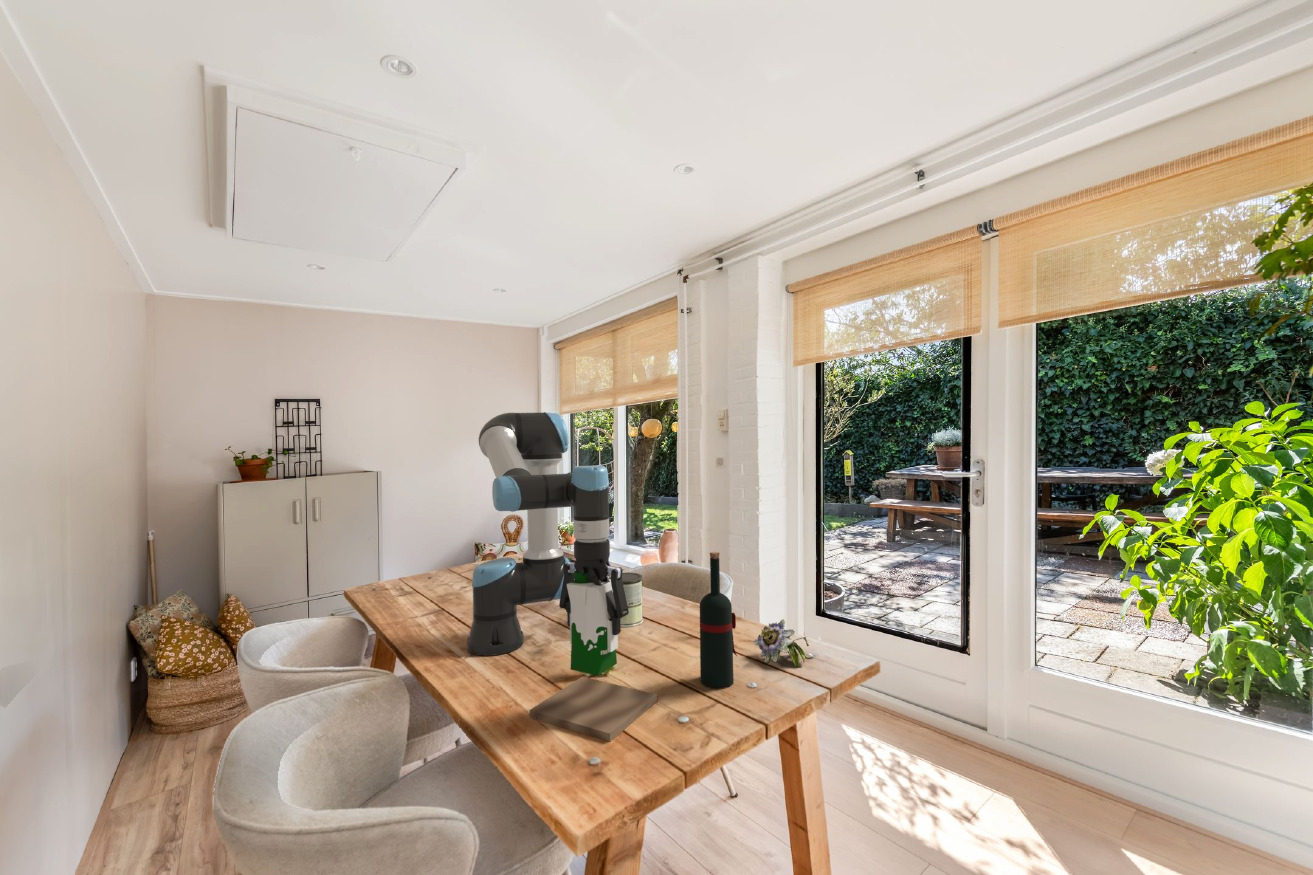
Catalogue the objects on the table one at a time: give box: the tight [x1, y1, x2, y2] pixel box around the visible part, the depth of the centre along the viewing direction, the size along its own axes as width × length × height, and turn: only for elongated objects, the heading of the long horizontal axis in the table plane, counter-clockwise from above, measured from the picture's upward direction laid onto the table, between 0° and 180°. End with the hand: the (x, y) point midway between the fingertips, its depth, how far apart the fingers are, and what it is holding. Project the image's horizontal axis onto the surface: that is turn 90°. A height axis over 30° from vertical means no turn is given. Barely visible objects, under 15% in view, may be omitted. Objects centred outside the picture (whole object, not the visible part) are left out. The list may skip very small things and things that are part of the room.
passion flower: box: [752, 618, 810, 668], centre depth 143 cm, size 11×11×12 cm
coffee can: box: [608, 572, 644, 628], centre depth 174 cm, size 10×10×14 cm
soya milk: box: [567, 571, 618, 677], centre depth 118 cm, size 9×9×20 cm
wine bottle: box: [699, 551, 738, 690], centre depth 132 cm, size 8×10×30 cm
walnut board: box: [529, 676, 658, 742], centre depth 119 cm, size 20×18×2 cm
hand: (593, 645), depth 118 cm, fingers closed on soya milk, 9 cm apart
